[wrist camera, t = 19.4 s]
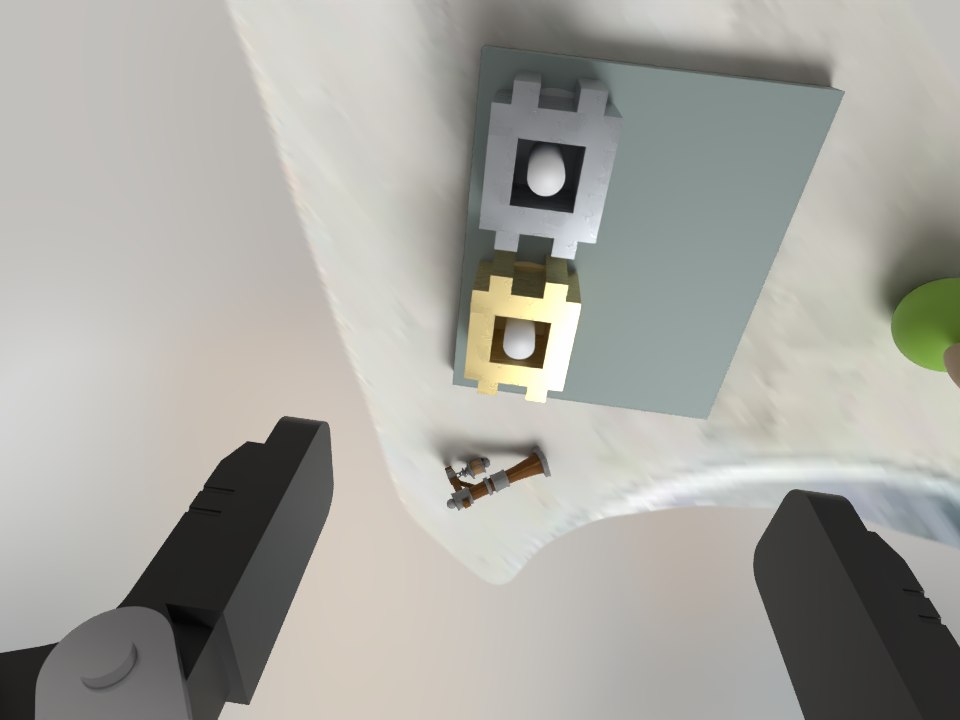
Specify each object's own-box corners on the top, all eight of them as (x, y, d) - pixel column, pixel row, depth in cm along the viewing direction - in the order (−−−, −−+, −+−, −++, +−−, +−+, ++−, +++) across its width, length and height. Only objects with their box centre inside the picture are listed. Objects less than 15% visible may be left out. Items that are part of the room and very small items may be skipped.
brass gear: (581, 257, 33) (585, 287, 30) (558, 367, 38) (559, 404, 34) (481, 245, 33) (474, 273, 30) (470, 356, 38) (462, 391, 34)
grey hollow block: (618, 82, 28) (628, 94, 25) (586, 234, 32) (591, 261, 29) (500, 67, 28) (494, 77, 25) (484, 220, 33) (477, 247, 29)
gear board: (831, 87, 29) (892, 107, 24) (701, 406, 40) (724, 464, 35) (484, 45, 29) (471, 56, 24) (455, 372, 41) (442, 425, 36)
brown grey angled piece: (432, 466, 45) (446, 504, 41) (524, 427, 46) (547, 460, 42) (438, 483, 46) (453, 521, 42) (529, 443, 47) (552, 478, 43)
